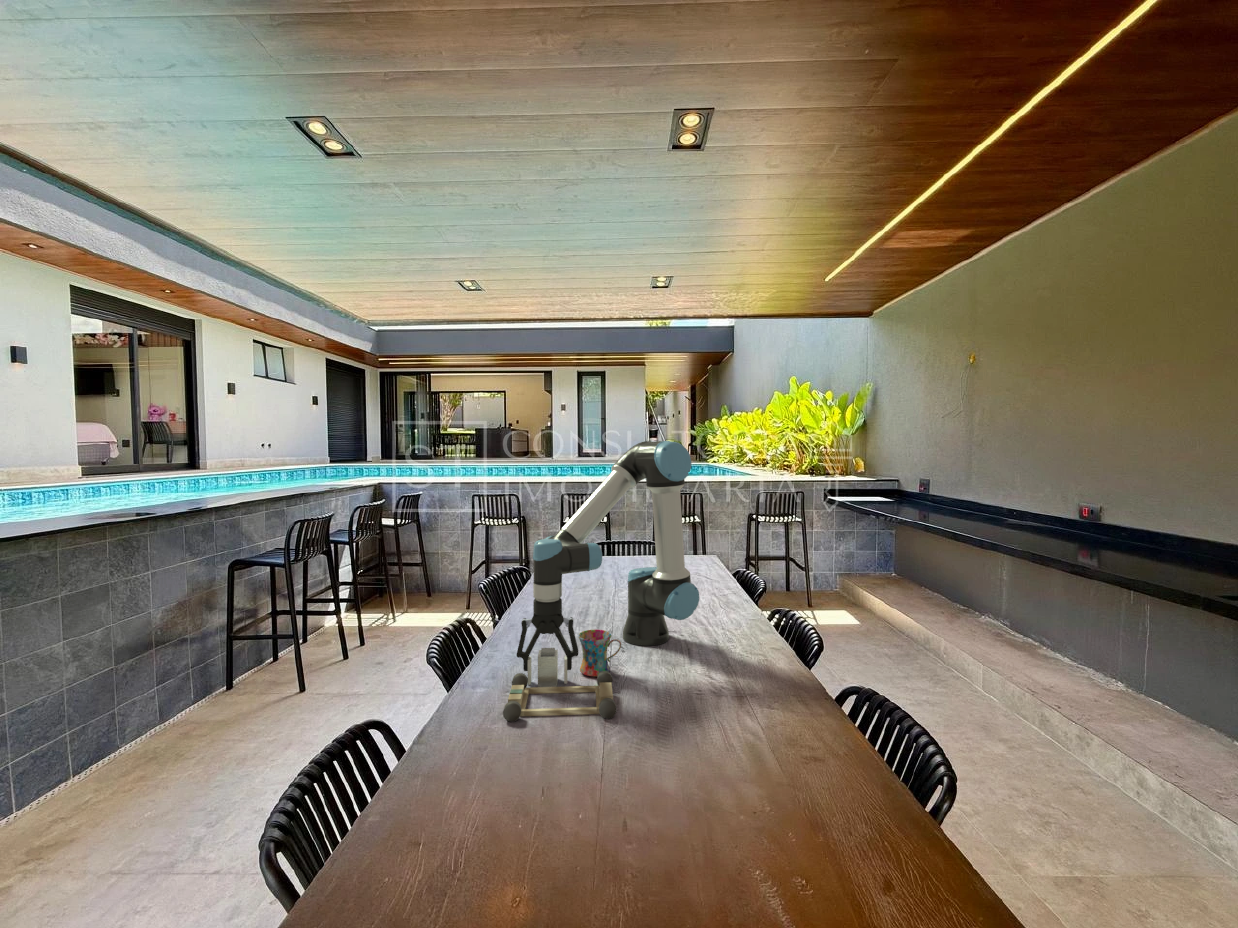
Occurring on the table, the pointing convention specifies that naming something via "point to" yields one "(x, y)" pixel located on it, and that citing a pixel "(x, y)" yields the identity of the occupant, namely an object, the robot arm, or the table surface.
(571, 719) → the table surface
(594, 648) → the mug
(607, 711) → the chassis
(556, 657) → the engine block
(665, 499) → the robot arm
